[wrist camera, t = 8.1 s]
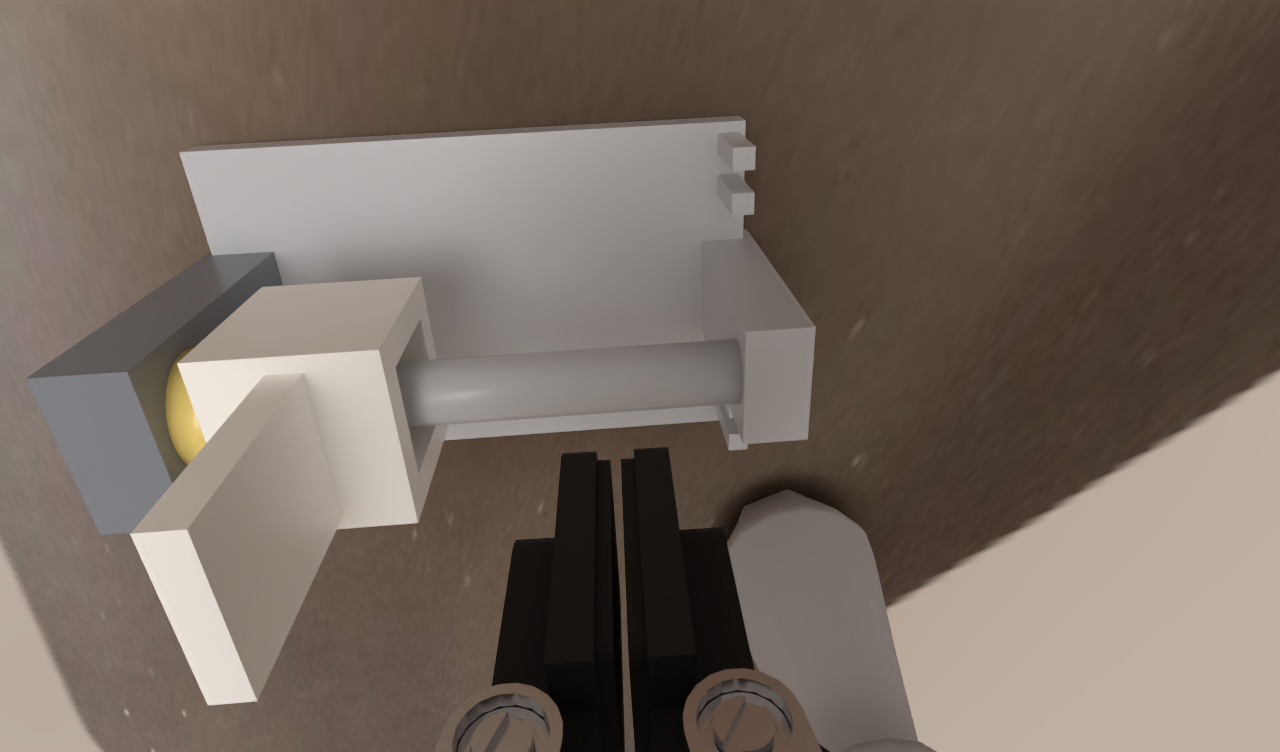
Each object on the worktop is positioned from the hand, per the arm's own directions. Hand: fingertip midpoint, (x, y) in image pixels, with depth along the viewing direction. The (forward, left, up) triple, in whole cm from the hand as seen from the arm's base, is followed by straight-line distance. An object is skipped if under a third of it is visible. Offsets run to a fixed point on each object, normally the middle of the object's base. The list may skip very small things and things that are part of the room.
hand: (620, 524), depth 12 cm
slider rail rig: (+4, +1, -14) cm, 14 cm away
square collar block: (+7, +1, -9) cm, 11 cm away
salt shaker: (-6, +12, -14) cm, 19 cm away
